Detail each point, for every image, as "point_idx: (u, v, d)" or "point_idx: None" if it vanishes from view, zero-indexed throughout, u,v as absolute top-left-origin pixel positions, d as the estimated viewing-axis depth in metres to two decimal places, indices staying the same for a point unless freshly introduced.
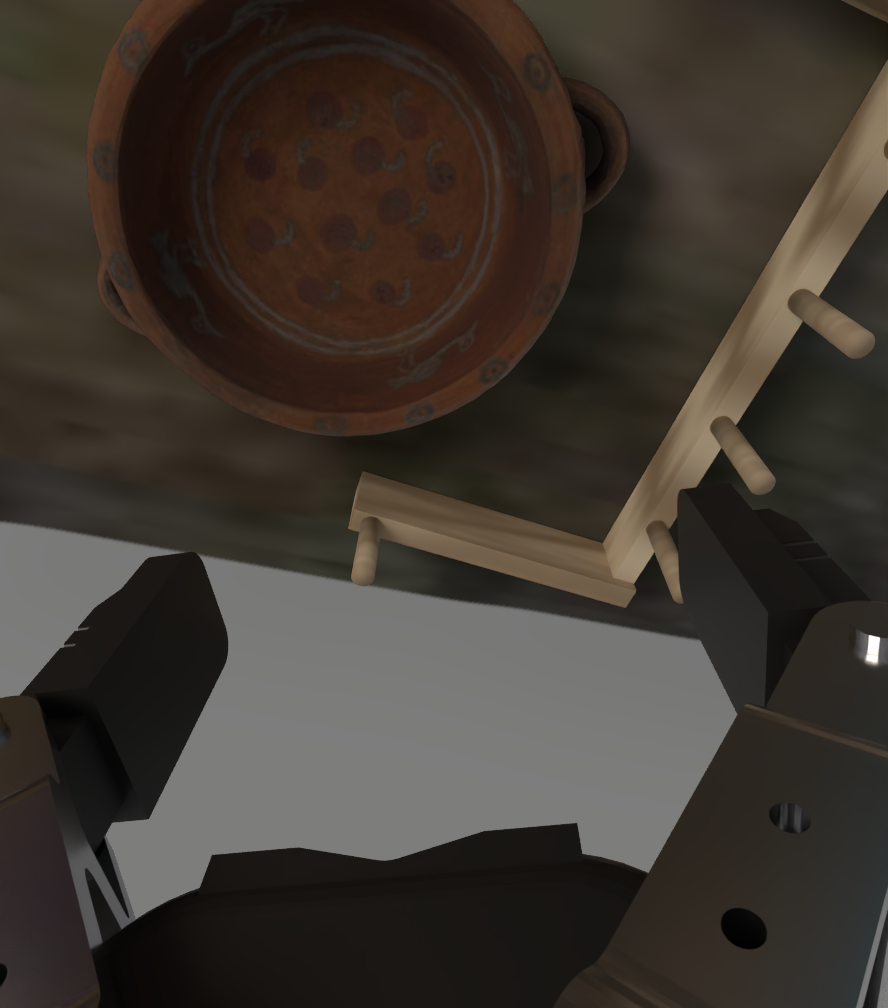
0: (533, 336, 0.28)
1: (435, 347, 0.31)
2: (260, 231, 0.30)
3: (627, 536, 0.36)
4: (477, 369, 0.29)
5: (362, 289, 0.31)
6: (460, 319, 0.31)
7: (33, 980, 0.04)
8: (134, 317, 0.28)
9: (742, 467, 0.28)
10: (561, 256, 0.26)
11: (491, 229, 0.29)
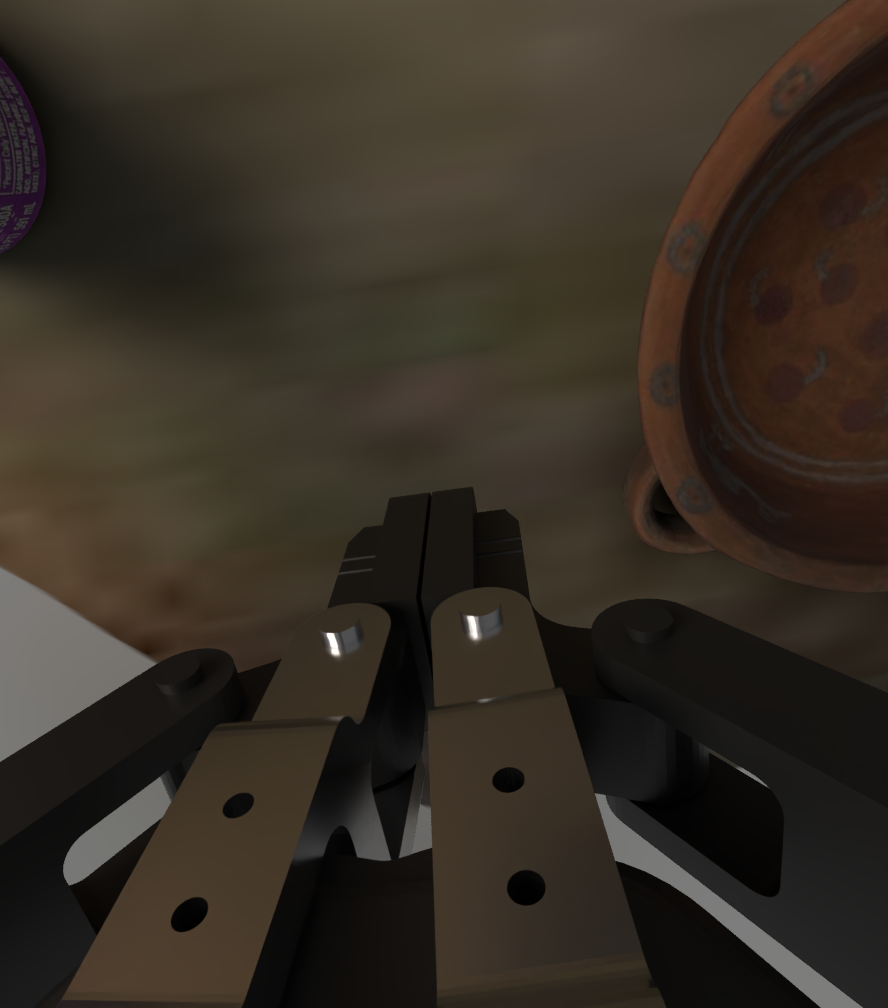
0: None
1: None
2: (785, 378, 0.24)
3: None
4: None
5: None
6: None
7: (212, 944, 0.05)
8: (712, 540, 0.23)
9: None
10: None
11: None
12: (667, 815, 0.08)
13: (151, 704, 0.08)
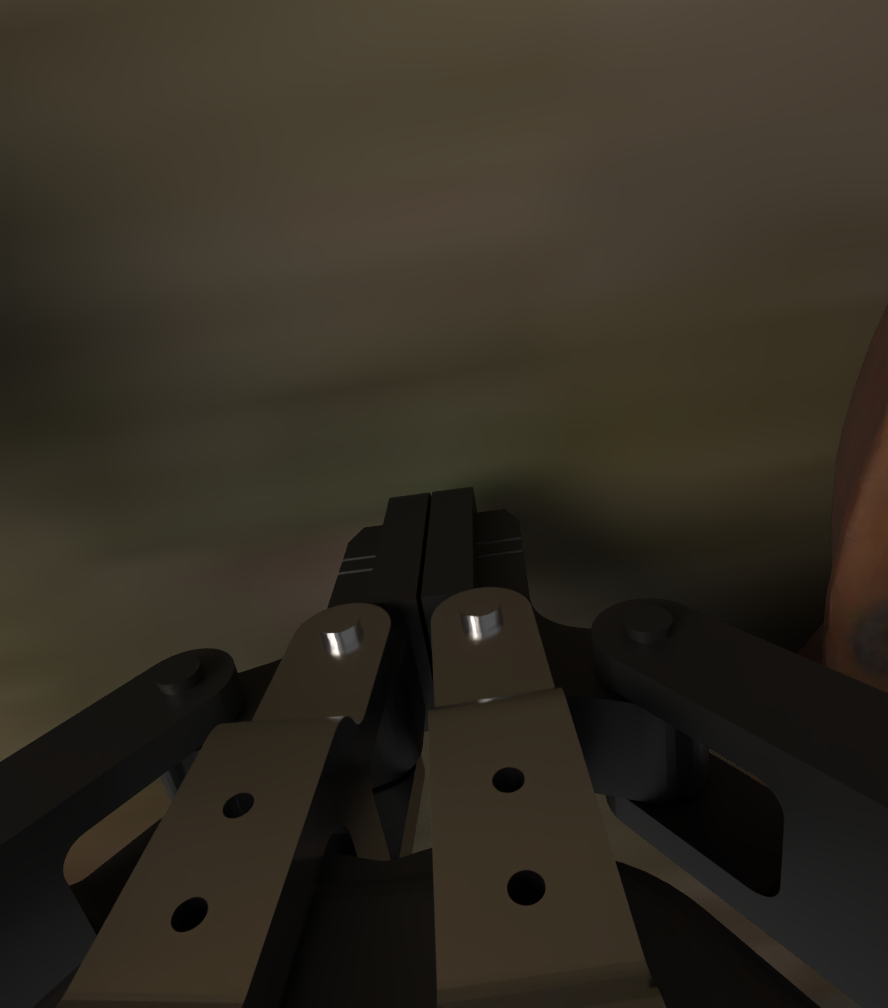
0: None
1: None
2: None
3: None
4: None
5: None
6: None
7: (212, 945, 0.05)
8: None
9: None
10: None
11: None
12: (667, 815, 0.08)
13: (151, 704, 0.08)
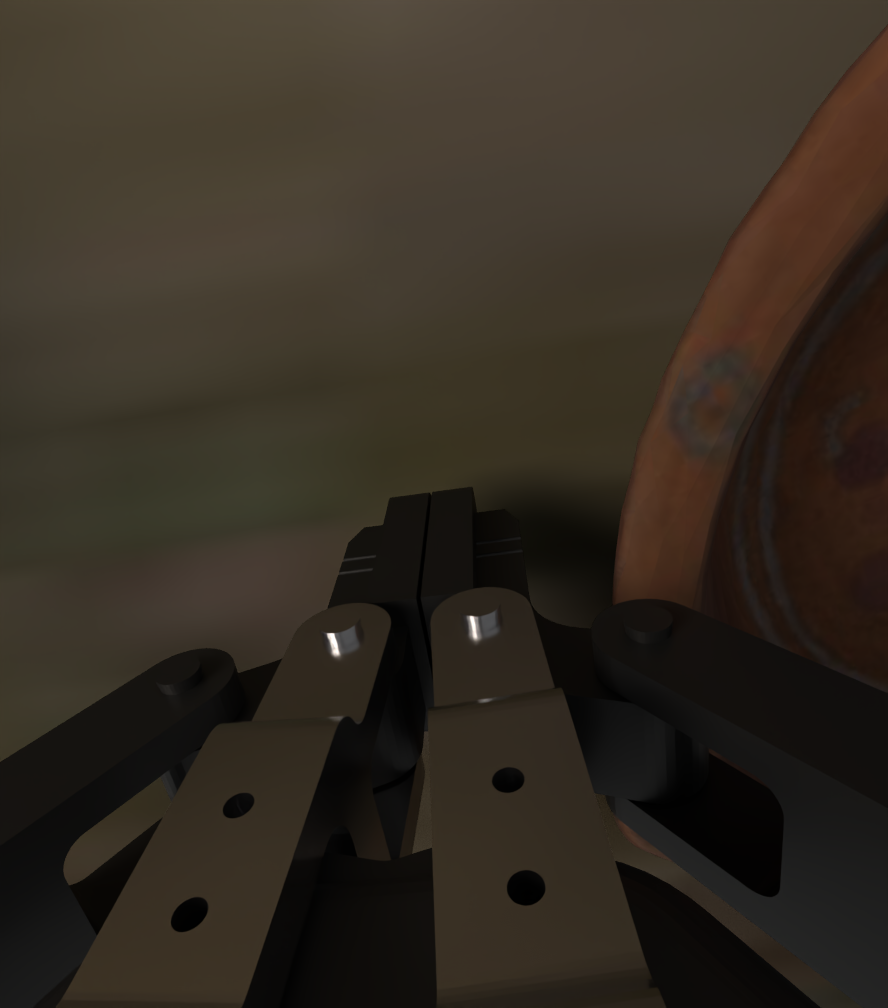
0: None
1: None
2: (884, 573, 0.13)
3: None
4: None
5: None
6: None
7: (212, 945, 0.05)
8: None
9: None
10: None
11: None
12: (667, 815, 0.08)
13: (151, 704, 0.08)
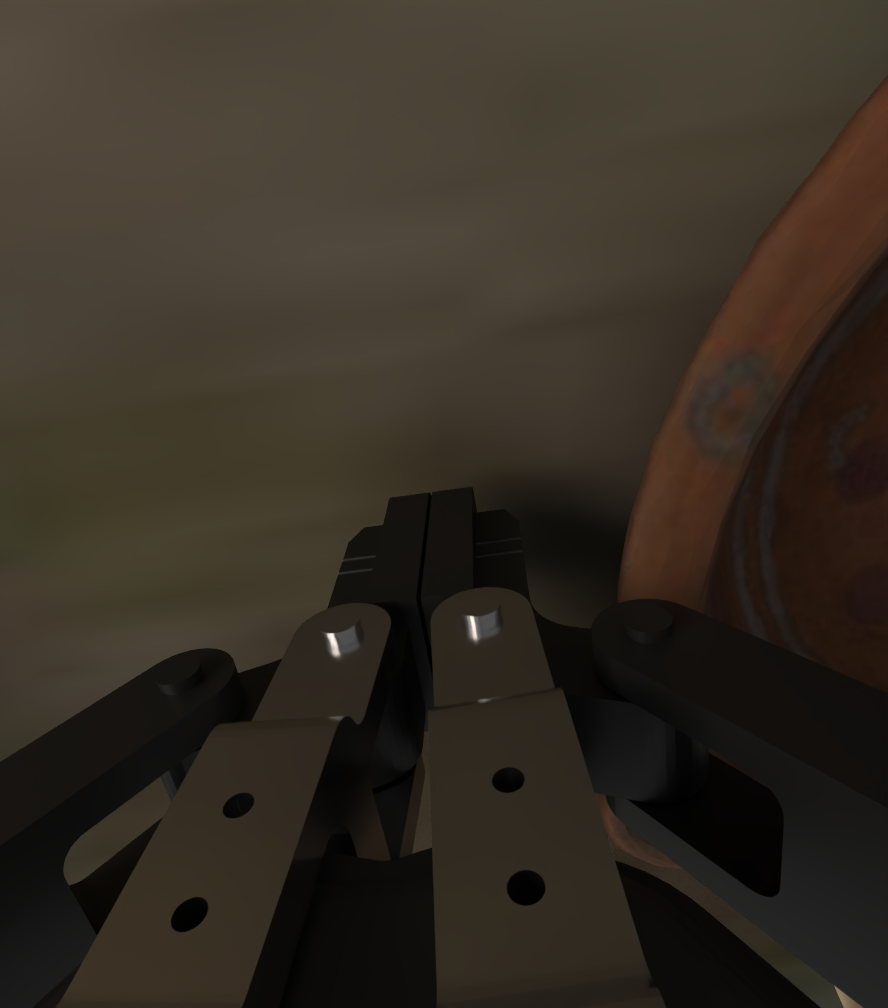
0: None
1: None
2: (878, 587, 0.14)
3: None
4: None
5: None
6: None
7: (212, 945, 0.05)
8: None
9: None
10: None
11: None
12: (666, 815, 0.08)
13: (151, 703, 0.08)
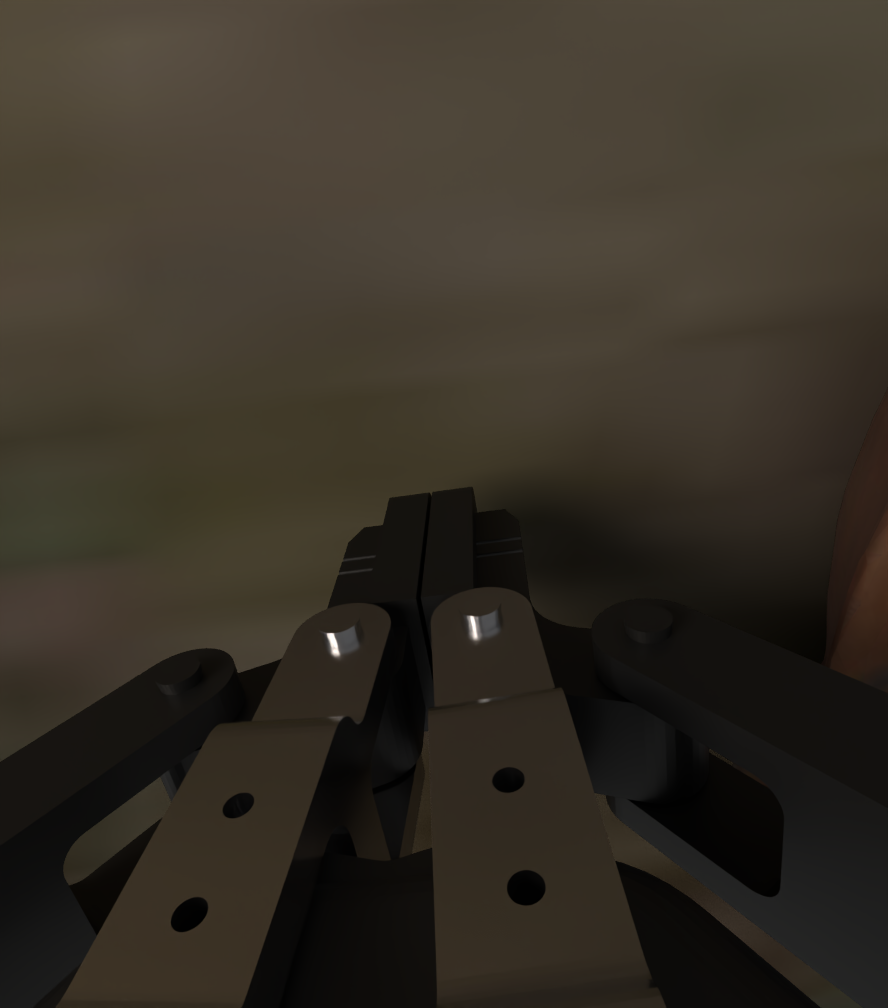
0: None
1: None
2: None
3: None
4: None
5: None
6: None
7: (212, 945, 0.05)
8: None
9: None
10: None
11: None
12: (666, 815, 0.08)
13: (151, 704, 0.08)
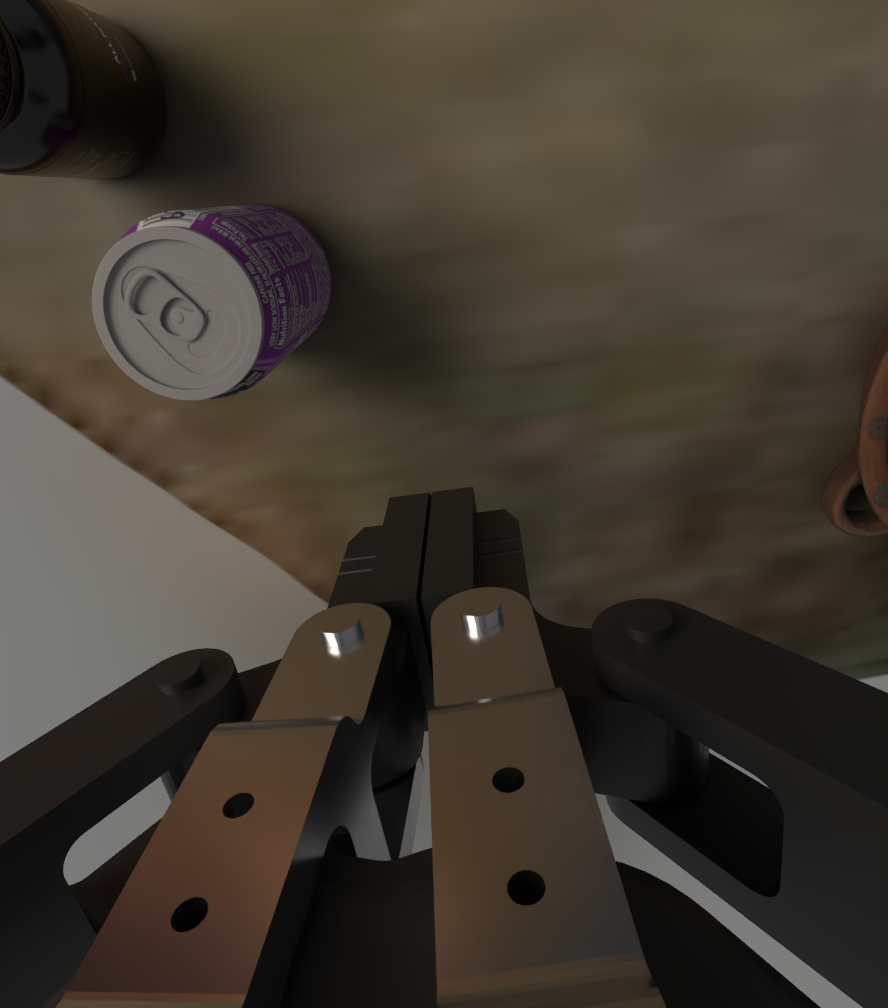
0: None
1: None
2: None
3: None
4: None
5: None
6: None
7: (212, 945, 0.05)
8: None
9: None
10: None
11: None
12: (667, 815, 0.08)
13: (151, 704, 0.08)
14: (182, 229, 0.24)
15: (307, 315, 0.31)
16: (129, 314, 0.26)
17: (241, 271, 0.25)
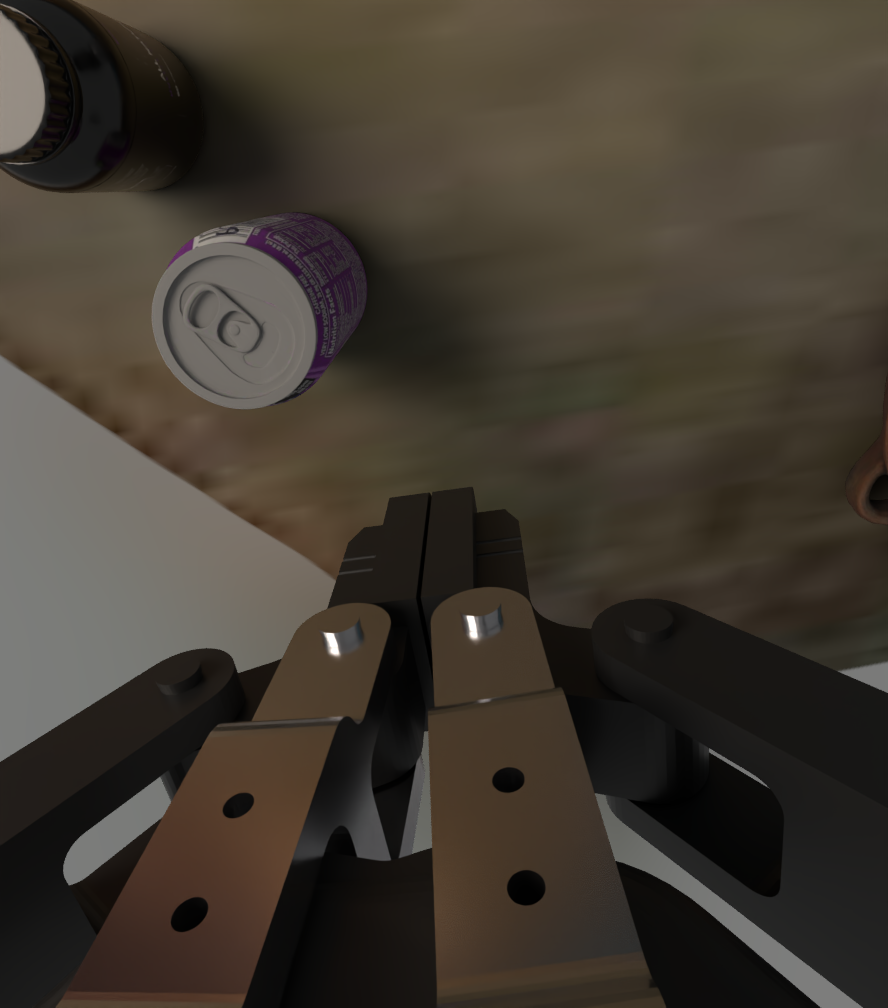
0: None
1: None
2: None
3: None
4: None
5: None
6: None
7: (212, 945, 0.05)
8: None
9: None
10: None
11: None
12: (667, 815, 0.08)
13: (151, 704, 0.08)
14: (240, 245, 0.25)
15: (350, 322, 0.32)
16: (187, 327, 0.26)
17: (296, 284, 0.26)
